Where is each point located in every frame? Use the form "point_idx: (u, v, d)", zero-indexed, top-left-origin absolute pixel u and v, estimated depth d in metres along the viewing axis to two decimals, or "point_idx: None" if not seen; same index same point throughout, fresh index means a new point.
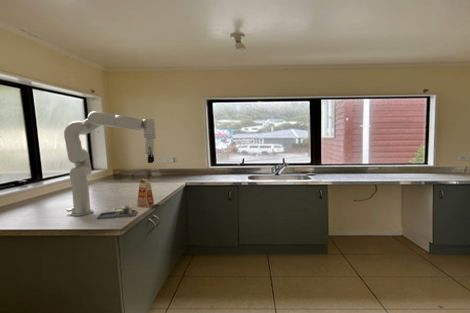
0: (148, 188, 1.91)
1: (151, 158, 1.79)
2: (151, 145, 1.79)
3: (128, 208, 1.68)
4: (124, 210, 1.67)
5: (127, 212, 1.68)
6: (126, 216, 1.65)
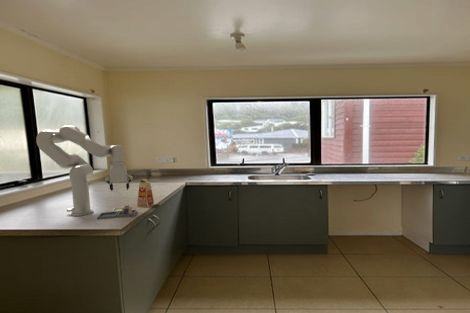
0: (148, 188, 1.91)
1: None
2: (126, 171, 1.80)
3: (128, 208, 1.68)
4: (124, 210, 1.67)
5: (127, 212, 1.68)
6: (126, 216, 1.65)
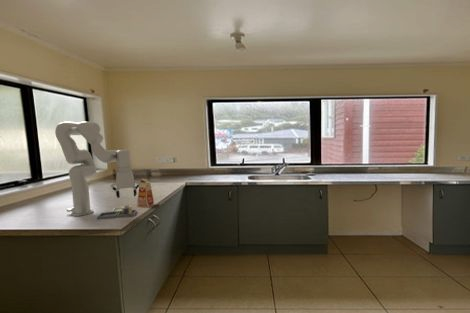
0: (148, 188, 1.91)
1: None
2: (133, 177, 1.71)
3: (128, 208, 1.68)
4: (124, 210, 1.67)
5: (127, 212, 1.68)
6: (126, 216, 1.65)
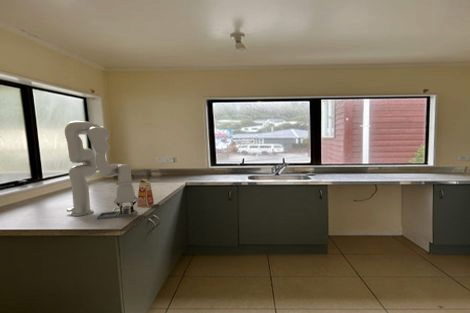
0: (148, 188, 1.91)
1: None
2: None
3: (128, 208, 1.68)
4: (124, 210, 1.67)
5: (127, 212, 1.68)
6: (126, 216, 1.65)
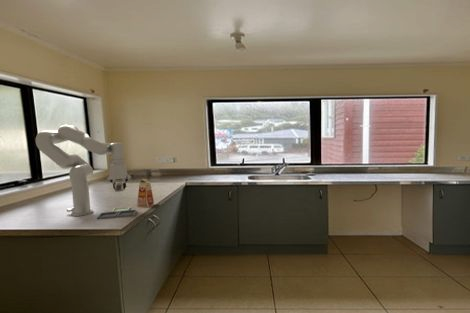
0: (148, 188, 1.91)
1: None
2: (126, 169, 1.80)
3: (121, 184, 1.76)
4: (117, 186, 1.76)
5: (120, 188, 1.76)
6: (126, 216, 1.65)
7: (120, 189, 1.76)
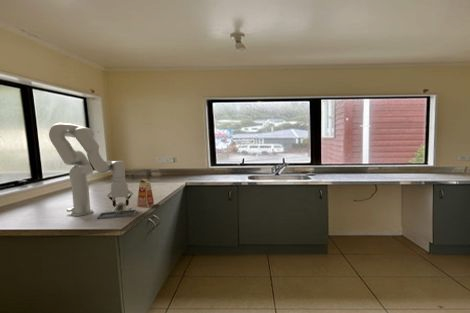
0: (148, 188, 1.91)
1: None
2: (127, 187, 1.81)
3: (122, 204, 1.77)
4: (118, 206, 1.77)
5: (121, 208, 1.77)
6: (126, 216, 1.65)
7: (121, 209, 1.77)
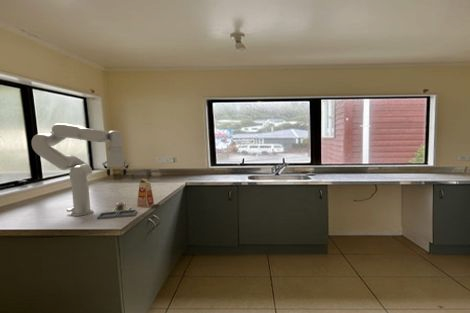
0: (148, 188, 1.91)
1: None
2: None
3: (122, 204, 1.77)
4: (118, 206, 1.77)
5: (121, 208, 1.77)
6: (126, 216, 1.65)
7: (121, 209, 1.77)
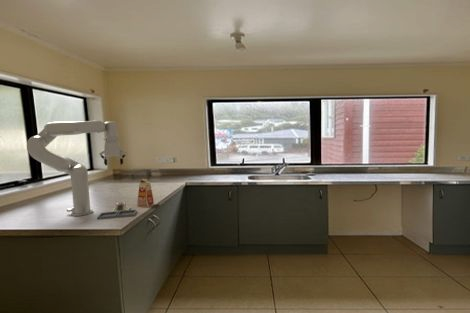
0: (148, 188, 1.91)
1: None
2: (120, 147, 1.87)
3: (122, 204, 1.77)
4: (118, 206, 1.77)
5: (121, 208, 1.77)
6: (126, 216, 1.65)
7: (121, 209, 1.77)
